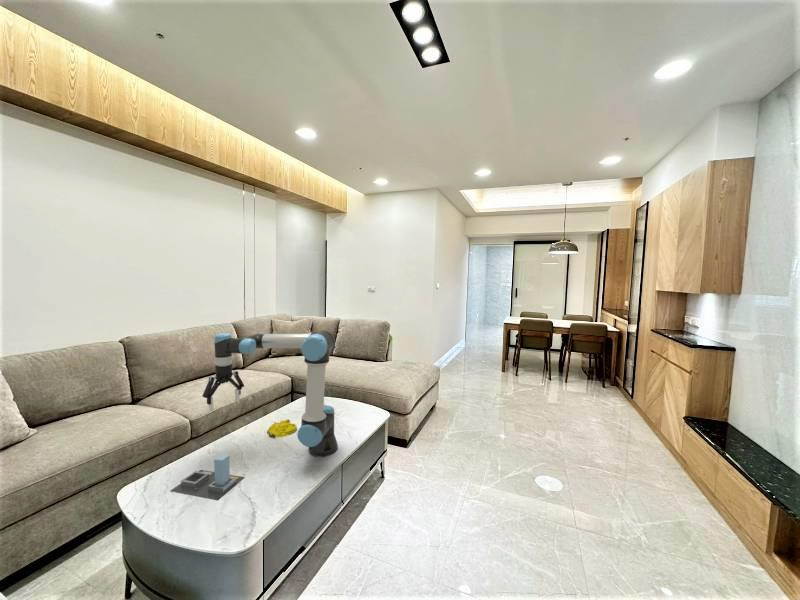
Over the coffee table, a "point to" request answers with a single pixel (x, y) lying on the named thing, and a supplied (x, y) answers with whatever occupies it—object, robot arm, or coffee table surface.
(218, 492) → the panel
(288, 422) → the door knocker
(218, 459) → the plug
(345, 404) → the coffee table surface
